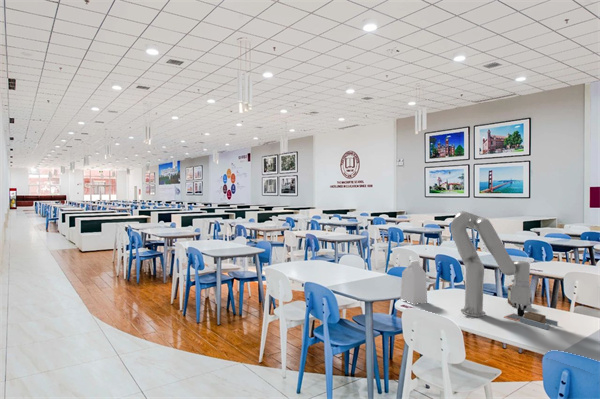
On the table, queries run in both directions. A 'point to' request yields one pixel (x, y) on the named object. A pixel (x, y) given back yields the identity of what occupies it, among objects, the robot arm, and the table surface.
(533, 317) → the walnut block
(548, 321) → the channel
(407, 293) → the milk
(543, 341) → the table surface
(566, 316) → the table surface
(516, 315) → the pad
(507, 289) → the food container
